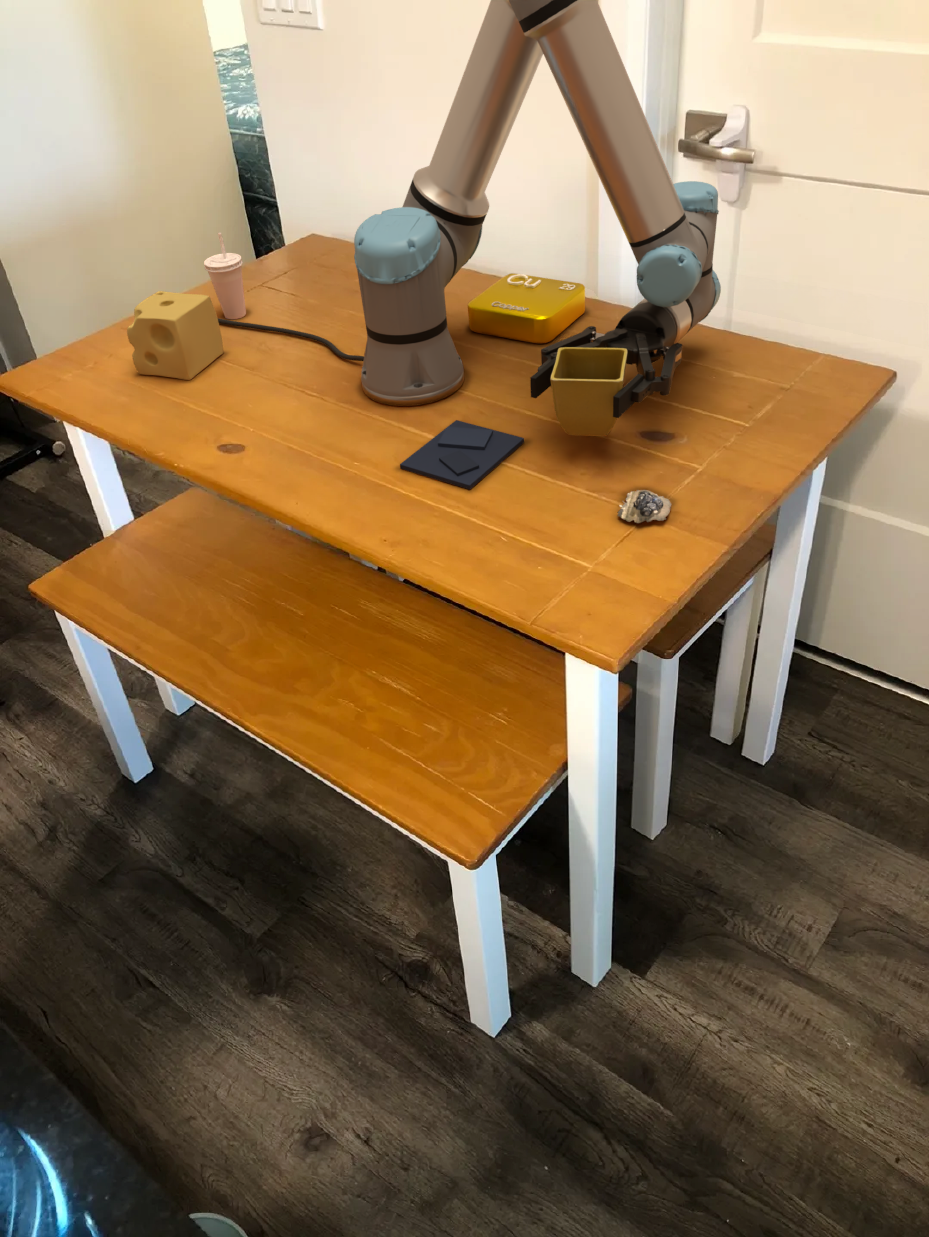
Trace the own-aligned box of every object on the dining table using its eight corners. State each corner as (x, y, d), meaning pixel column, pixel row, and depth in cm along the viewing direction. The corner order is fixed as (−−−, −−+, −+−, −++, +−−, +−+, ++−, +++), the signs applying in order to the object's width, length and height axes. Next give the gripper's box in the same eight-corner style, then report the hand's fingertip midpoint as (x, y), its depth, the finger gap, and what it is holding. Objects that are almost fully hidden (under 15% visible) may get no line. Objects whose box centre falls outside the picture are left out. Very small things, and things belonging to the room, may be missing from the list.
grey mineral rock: (620, 530, 114) (620, 516, 113) (609, 492, 120) (609, 479, 119) (678, 525, 114) (679, 511, 113) (664, 487, 120) (665, 474, 119)
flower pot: (620, 446, 123) (622, 380, 117) (551, 444, 125) (549, 378, 119) (625, 411, 129) (627, 347, 124) (559, 410, 131) (558, 346, 125)
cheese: (136, 375, 156) (117, 314, 150) (175, 346, 163) (159, 287, 157) (191, 382, 153) (174, 320, 146) (229, 352, 160) (214, 292, 154)
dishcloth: (400, 468, 128) (399, 460, 127) (456, 424, 136) (455, 416, 135) (470, 490, 123) (469, 481, 122) (524, 442, 131) (524, 434, 130)
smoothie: (250, 321, 169) (231, 239, 160) (213, 323, 169) (192, 241, 160) (256, 306, 174) (238, 225, 165) (221, 308, 174) (201, 228, 165)
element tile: (464, 331, 159) (462, 302, 156) (510, 296, 169) (508, 268, 165) (546, 346, 153) (545, 317, 149) (589, 309, 162) (589, 280, 159)
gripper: (731, 370, 131) (659, 446, 118) (577, 338, 142) (495, 405, 129) (737, 315, 126) (662, 388, 113) (577, 287, 137) (491, 351, 124)
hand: (573, 397), depth 121 cm, fingers closed on flower pot, 11 cm apart
